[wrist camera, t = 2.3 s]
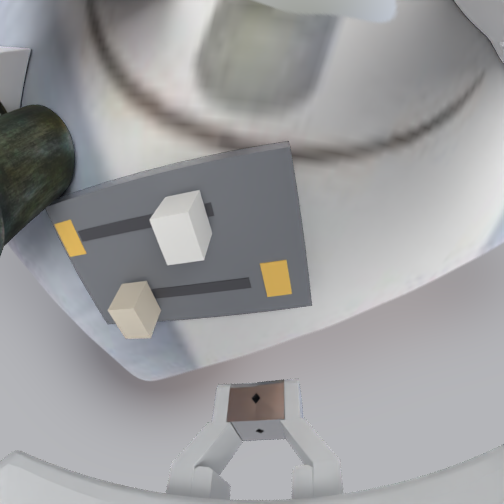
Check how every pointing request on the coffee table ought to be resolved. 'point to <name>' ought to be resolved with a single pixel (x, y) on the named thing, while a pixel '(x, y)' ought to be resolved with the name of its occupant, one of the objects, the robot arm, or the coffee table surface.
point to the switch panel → (220, 246)
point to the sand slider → (135, 310)
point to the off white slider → (182, 228)
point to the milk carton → (12, 75)
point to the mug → (31, 165)
